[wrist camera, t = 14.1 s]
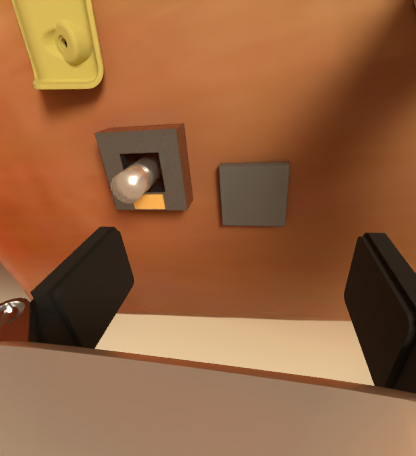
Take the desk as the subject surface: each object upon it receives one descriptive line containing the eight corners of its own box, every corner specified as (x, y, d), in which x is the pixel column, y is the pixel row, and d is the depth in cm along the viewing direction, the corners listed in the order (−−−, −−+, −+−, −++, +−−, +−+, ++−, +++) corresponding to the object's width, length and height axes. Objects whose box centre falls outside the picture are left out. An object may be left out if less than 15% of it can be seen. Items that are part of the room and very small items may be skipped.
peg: (163, 152, 40) (136, 173, 32) (167, 177, 42) (143, 203, 34) (139, 153, 41) (107, 174, 33) (144, 177, 43) (115, 203, 35)
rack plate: (183, 123, 38) (175, 128, 34) (193, 199, 44) (186, 211, 40) (108, 128, 40) (93, 133, 36) (127, 199, 46) (115, 210, 42)
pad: (288, 161, 38) (289, 164, 36) (284, 221, 43) (285, 226, 41) (220, 163, 40) (219, 166, 38) (223, 220, 44) (222, 225, 43)
